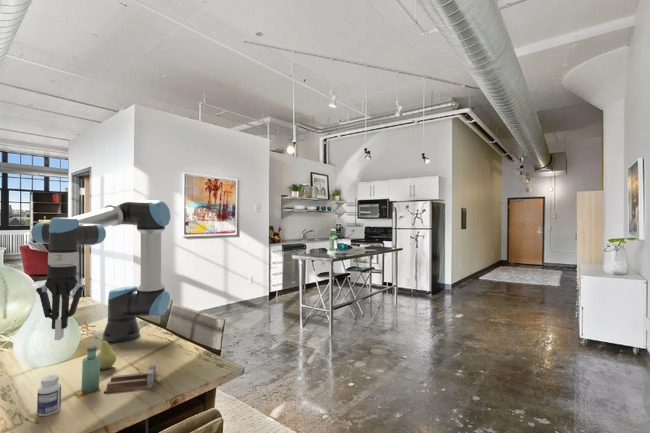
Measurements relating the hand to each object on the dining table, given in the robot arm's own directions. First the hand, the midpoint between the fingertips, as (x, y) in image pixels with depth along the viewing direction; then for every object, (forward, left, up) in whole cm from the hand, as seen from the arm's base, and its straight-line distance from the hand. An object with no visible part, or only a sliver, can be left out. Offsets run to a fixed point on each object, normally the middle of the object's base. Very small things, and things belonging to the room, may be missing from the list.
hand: (59, 338), depth 111 cm
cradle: (0, +21, -17) cm, 27 cm away
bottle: (0, +9, -17) cm, 20 cm away
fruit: (-16, +9, -18) cm, 26 cm away
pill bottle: (+12, +2, -18) cm, 21 cm away
